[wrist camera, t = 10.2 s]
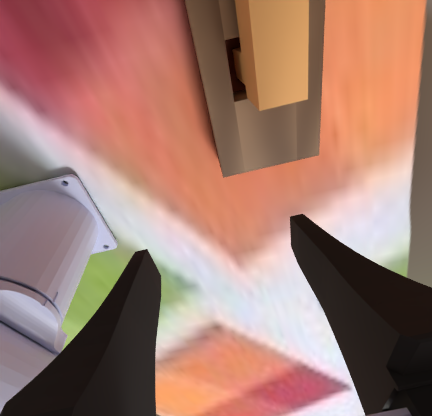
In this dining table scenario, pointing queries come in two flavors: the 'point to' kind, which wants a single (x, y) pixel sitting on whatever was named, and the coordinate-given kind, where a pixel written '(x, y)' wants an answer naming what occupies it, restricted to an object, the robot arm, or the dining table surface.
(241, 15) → the tan wooden beam
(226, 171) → the rail
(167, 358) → the dining table surface
